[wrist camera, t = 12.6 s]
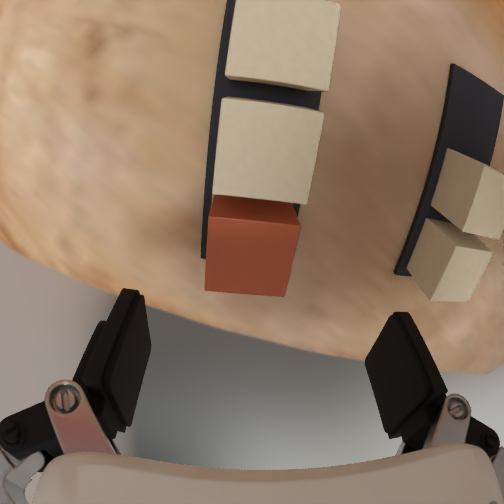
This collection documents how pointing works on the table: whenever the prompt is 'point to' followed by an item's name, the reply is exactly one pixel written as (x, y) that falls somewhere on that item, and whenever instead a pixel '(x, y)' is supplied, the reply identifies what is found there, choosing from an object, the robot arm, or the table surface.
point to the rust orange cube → (250, 245)
